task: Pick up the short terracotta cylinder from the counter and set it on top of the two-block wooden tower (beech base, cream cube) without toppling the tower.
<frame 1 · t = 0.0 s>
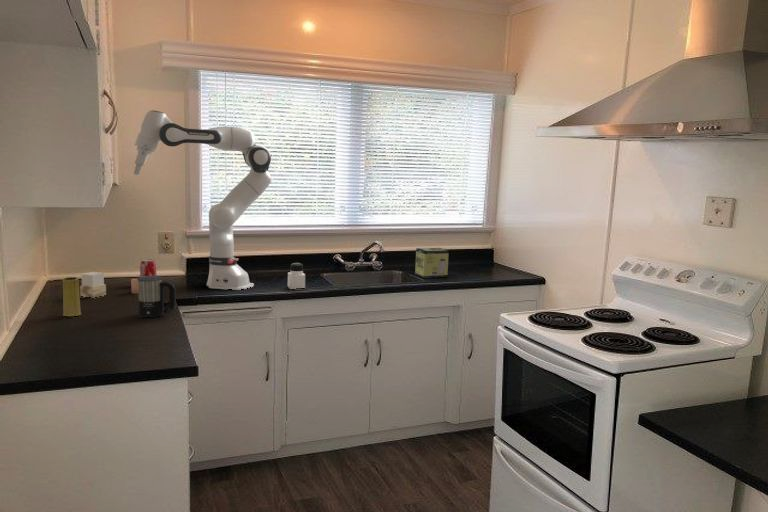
hand: (135, 174, 265), 52 cm above the countertop, tool tilted 20°, fingers open, 8 cm apart
tower top: (93, 285, 254), point 5 cm above the countertop, touching tower base
soda can: (148, 285, 280), on the countertop
medicine bottle: (296, 288, 287), on the countertop
protein box: (431, 276, 331), on the countertop
tower base: (93, 296, 254), on the countertop, touching tower top
milk frother: (156, 313, 232), on the countertop
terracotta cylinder: (137, 292, 264), on the countertop
vase: (72, 316, 222), on the countertop
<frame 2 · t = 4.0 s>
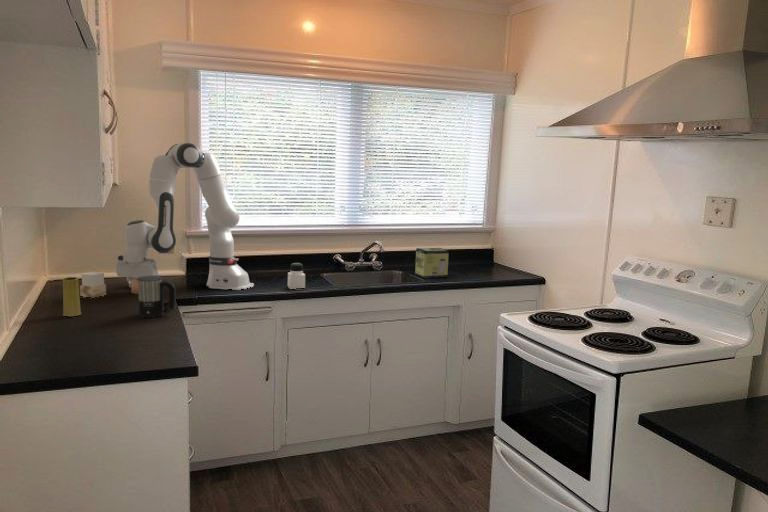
hand: (137, 287, 264), 2 cm above the countertop, tool pointing down, fingers closed on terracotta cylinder, 5 cm apart
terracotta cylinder: (137, 292, 264), on the countertop, touching gripper
everything else where it was.
when the fingers open (14 cm above the countertop, at t = 8.2 s): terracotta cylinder drops 2 cm, resting on tower top.
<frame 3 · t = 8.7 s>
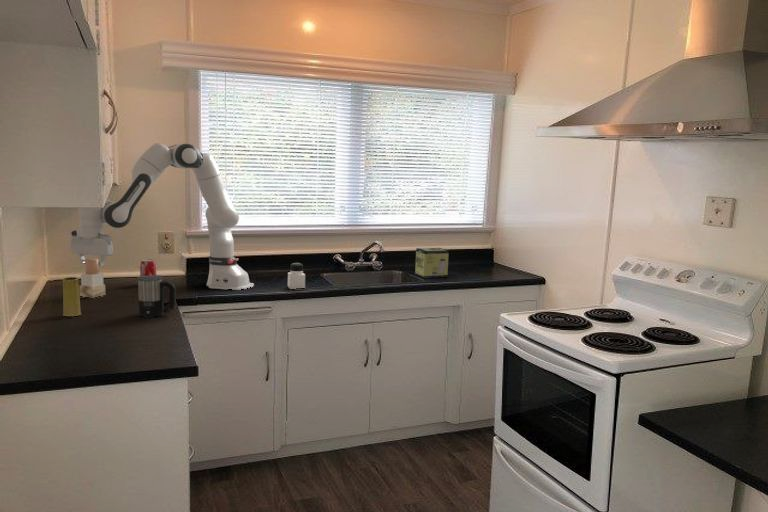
hand: (92, 264, 252), 14 cm above the countertop, tool pointing down, fingers open, 8 cm apart
tower top: (92, 285, 253), point 5 cm above the countertop, touching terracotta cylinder, tower base
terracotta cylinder: (92, 273, 253), point 10 cm above the countertop, touching tower top
everything else where it was.
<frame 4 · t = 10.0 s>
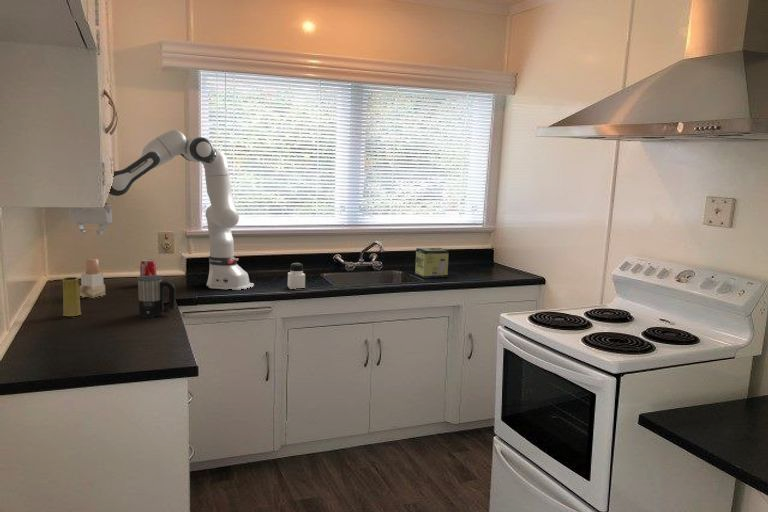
hand: (91, 233, 250), 27 cm above the countertop, tool pointing down, fingers open, 8 cm apart
tower top: (92, 285, 253), point 5 cm above the countertop, touching tower base
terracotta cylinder: (92, 273, 253), point 10 cm above the countertop
everything else where it was.
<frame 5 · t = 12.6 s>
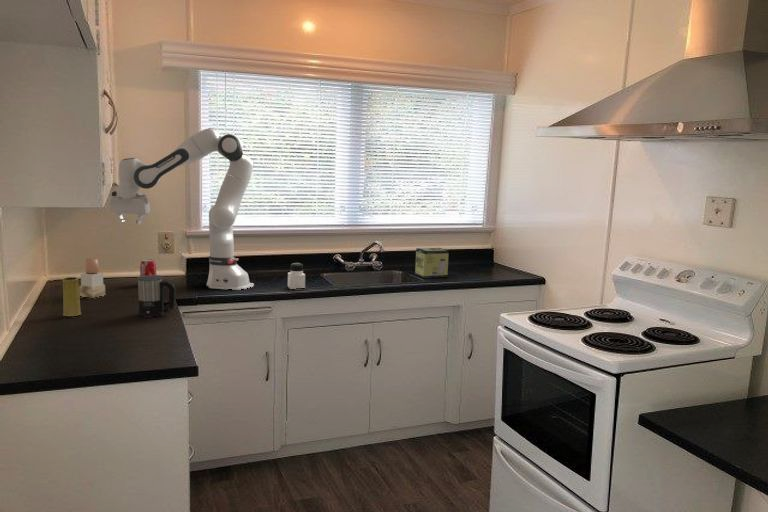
hand: (130, 223, 275), 29 cm above the countertop, tool pointing down, fingers open, 8 cm apart
tower top: (92, 285, 253), point 5 cm above the countertop, touching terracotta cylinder, tower base
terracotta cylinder: (92, 272, 253), point 10 cm above the countertop, tilted 9°, touching tower top
everything else where it was.
at the end: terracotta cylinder 0.3 cm off-centre on the tower base, point 10.3 cm above the tower base's base; tower top tilted 0°; tower base moved 0.4 cm from its start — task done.
